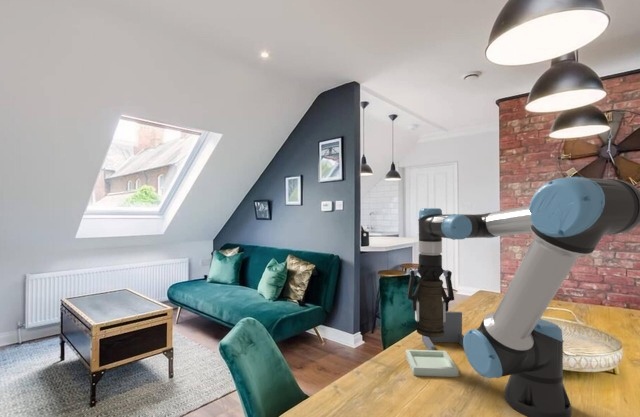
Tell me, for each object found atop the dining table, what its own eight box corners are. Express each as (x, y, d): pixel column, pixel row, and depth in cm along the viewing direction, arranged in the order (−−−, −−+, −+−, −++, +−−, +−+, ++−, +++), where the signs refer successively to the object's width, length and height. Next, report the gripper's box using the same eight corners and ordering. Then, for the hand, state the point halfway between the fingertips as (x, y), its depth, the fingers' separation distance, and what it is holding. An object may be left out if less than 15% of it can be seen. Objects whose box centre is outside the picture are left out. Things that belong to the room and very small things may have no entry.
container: (446, 338, 108) (446, 283, 108) (417, 336, 110) (417, 282, 110) (442, 329, 117) (442, 277, 117) (415, 327, 119) (415, 276, 119)
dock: (475, 357, 120) (475, 324, 120) (431, 356, 121) (431, 322, 121) (461, 341, 135) (460, 311, 135) (422, 340, 136) (422, 310, 136)
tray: (458, 377, 106) (458, 369, 106) (413, 375, 107) (413, 367, 107) (445, 357, 120) (445, 350, 120) (405, 356, 121) (405, 349, 121)
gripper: (457, 252, 117) (457, 317, 116) (397, 251, 118) (397, 316, 118) (465, 255, 109) (465, 325, 109) (400, 254, 111) (400, 323, 111)
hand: (430, 320), depth 113 cm, fingers closed on container, 8 cm apart
